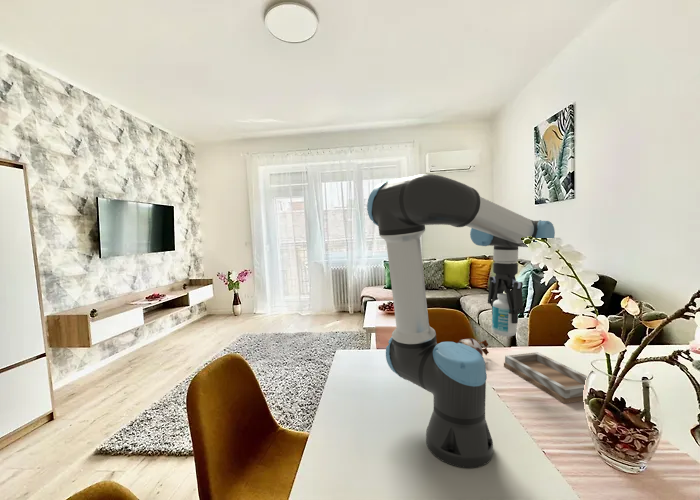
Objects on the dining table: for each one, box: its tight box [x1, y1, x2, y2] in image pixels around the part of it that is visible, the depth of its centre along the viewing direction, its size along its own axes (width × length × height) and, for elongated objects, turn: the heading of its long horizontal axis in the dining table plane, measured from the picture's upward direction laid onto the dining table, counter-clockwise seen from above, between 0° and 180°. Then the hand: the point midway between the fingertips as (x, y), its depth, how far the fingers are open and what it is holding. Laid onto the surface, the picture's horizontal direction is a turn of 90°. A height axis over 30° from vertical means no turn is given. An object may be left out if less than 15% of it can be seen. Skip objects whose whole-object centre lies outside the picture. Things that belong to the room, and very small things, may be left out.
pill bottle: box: [491, 292, 517, 337], centre depth 110 cm, size 8×7×14 cm
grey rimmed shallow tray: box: [503, 351, 588, 404], centre depth 109 cm, size 26×15×4 cm, turn 12°
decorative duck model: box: [458, 338, 489, 357], centre depth 127 cm, size 15×8×15 cm
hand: (503, 328), depth 111 cm, fingers closed on pill bottle, 7 cm apart
